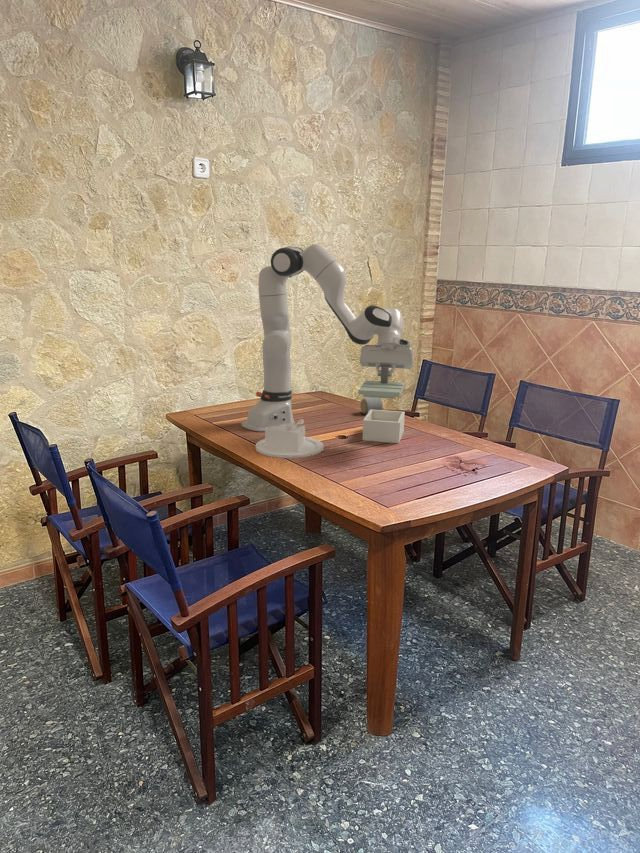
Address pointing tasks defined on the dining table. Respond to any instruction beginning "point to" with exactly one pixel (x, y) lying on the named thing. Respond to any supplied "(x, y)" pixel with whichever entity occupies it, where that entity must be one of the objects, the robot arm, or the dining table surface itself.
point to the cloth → (458, 459)
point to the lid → (382, 387)
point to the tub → (383, 426)
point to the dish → (288, 442)
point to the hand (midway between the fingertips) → (384, 375)
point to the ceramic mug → (371, 404)
